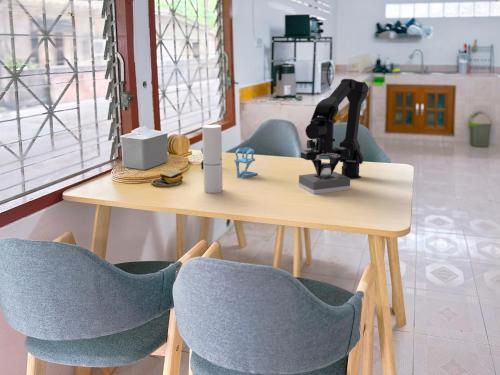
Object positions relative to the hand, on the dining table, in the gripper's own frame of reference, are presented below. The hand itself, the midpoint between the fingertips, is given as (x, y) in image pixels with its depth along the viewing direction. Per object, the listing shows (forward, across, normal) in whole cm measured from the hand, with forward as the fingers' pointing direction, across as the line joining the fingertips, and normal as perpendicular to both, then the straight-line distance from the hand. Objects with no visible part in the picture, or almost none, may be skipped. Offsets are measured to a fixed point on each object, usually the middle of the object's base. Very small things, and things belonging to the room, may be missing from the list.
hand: (324, 175), depth 213 cm
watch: (+5, +31, -51) cm, 60 cm away
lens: (+2, 0, 0) cm, 2 cm away
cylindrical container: (+5, +41, -14) cm, 44 cm away
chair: (+5, +21, -31) cm, 38 cm away
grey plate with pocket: (+5, 0, 0) cm, 5 cm away
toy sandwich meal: (+6, +55, -32) cm, 64 cm away
